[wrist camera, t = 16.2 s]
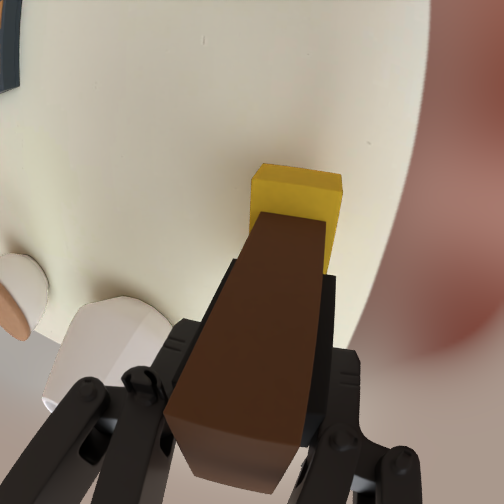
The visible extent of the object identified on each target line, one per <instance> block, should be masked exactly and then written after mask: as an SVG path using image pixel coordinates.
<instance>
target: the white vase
mask: <svg viewBox="0 0 504 504" xmlns="http://www.w3.org/2000/svg"><path fill="white" fill-rule="evenodd" d="M172 328H173V327H172V325H171V324H170V323H169V321H168V320H167V318H165V317H164V316H163V315H162V314H161V313H159V312H158V311H157V310H156V309H155V308H154V307H152V306H150V305H148V304H146V303H144V302H143V301H141V300H139V299H136V298H131V297H127V296H121V297H116V298H111V299H107V300H103V301H98V302H94V303H89V304H85V305H83V306H82V307H80V308H79V310H78V311H77V313H76V315H75V316H74V318H73V320H72V321H71V323H70V325H69V328H68V330H67V332H66V335H65V337H64V339H63V342H62V344H61V347H60V349H59V352H58V354H57V357H56V359H55V362H54V365H53V367H52V370H51V373H50V375H49V378H48V381H47V384H46V386H45V389H44V393H43V395H42V401H43V403H44V405H45V406H46V408H47V409H48V410H49V411H50V412H51V413H52V412H53V411H54V409H55V408H56V407H57V405H58V404H59V403H60V401H61V400H62V399H63V398H64V396H65V395H66V394H67V392H68V391H69V390H70V389H71V387H72V386H73V385H74V384H75V383H76V382H77V381H78V380H79V379H81V378H84V377H91V376H92V377H95V378H98V379H99V380H100V381H101V382H103V384H104V386H117V387H125V386H124V384H123V382H122V380H121V377H122V375H123V374H124V372H126V371H127V370H129V369H130V368H132V367H136V366H148V367H150V366H151V365H152V363H153V361H154V359H155V358H156V356H157V354H158V352H159V351H160V349H161V347H163V343H164V342H165V340H166V338H168V335H169V333H170V331H171V330H172Z"/></svg>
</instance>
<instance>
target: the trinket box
mask: <svg viewBox="0 0 504 504" xmlns="http://www.w3.org/2000/svg"><path fill="white" fill-rule="evenodd" d="M48 288H49V285H48V280H47V278H46V276H45V274H44V272H43V270H42V269H41V267H40V266H39V265H38V263H37V262H36V261H35V260H34V259H33V258H31V257H30V256H28V255H25V254H23V255H20V254H14V253H8V254H4V255H1V256H0V325H1V326H2V327H3V328H4V329H5V330H6V331H7V332H8V333H9V334H10V335H12V336H13V337H15V338H16V339H18V340H20V341H25V340H27V339H28V337H29V336H30V334H31V332H32V331H33V330H34V329H35V327H36V326H37V325H38V323H39V322H40V320H41V319H42V317H43V315H44V313H45V310H46V307H47V302H48Z"/></svg>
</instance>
